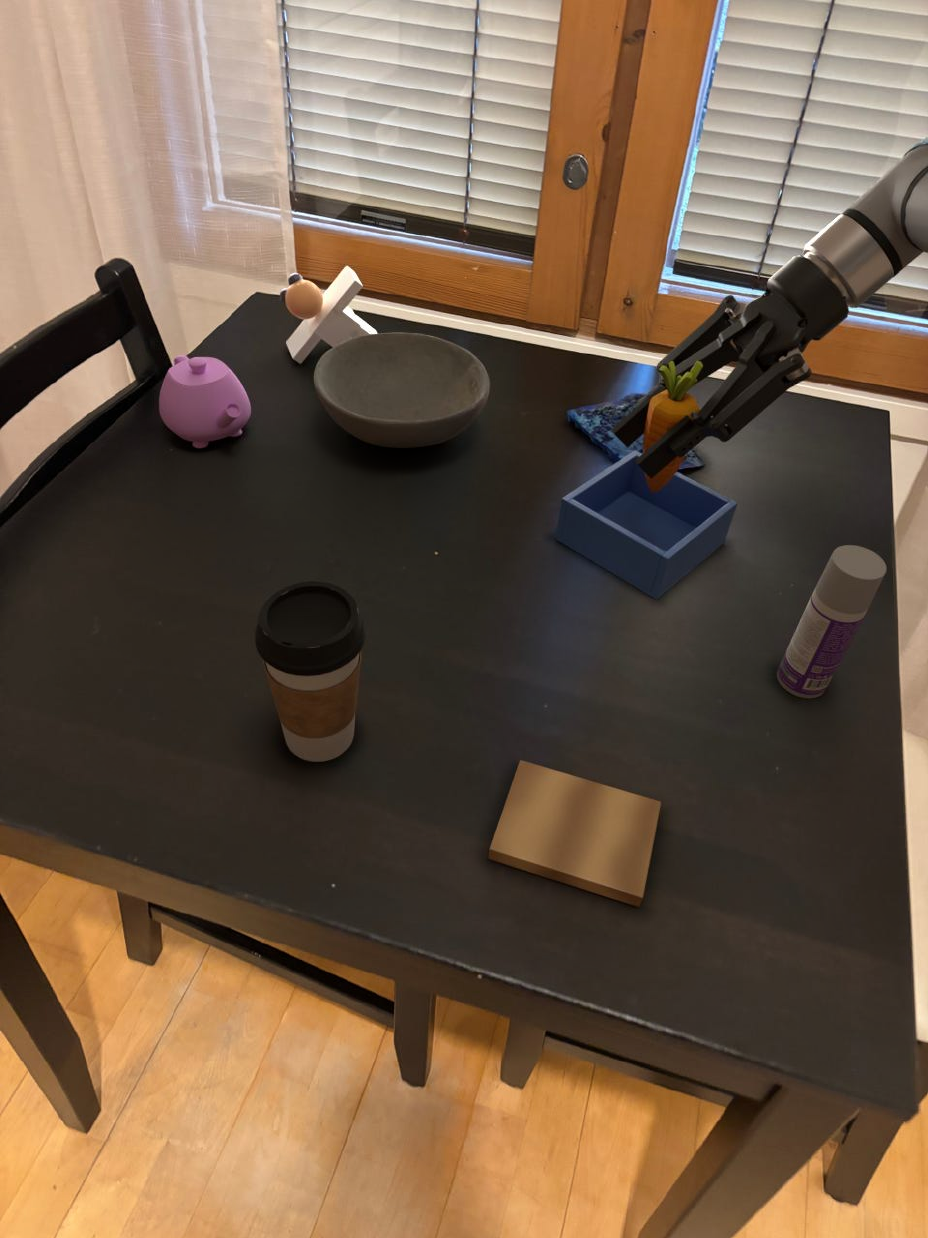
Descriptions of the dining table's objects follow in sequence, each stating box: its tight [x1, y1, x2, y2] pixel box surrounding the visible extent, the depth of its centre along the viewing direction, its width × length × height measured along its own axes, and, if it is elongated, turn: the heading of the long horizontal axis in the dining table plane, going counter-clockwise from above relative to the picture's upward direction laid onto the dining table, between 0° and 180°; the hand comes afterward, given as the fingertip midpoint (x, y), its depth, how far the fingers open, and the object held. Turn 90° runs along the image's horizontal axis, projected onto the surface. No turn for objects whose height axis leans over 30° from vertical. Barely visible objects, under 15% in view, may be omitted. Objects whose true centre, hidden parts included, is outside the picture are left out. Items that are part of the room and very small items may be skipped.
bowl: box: [313, 331, 491, 449], centre depth 109 cm, size 21×21×8 cm
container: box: [776, 544, 887, 699], centre depth 79 cm, size 5×5×15 cm
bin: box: [554, 451, 739, 600], centre depth 96 cm, size 14×14×6 cm
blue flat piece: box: [566, 392, 706, 470], centre depth 112 cm, size 15×17×2 cm
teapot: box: [158, 354, 252, 449], centre depth 105 cm, size 10×15×9 cm
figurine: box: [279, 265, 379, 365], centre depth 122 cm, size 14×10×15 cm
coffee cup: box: [254, 580, 366, 763], centre depth 71 cm, size 8×8×15 cm
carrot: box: [643, 361, 703, 493], centre depth 88 cm, size 5×5×15 cm
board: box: [487, 759, 662, 908], centre depth 70 cm, size 12×9×2 cm
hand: (631, 453), depth 89 cm, fingers closed on carrot, 5 cm apart
